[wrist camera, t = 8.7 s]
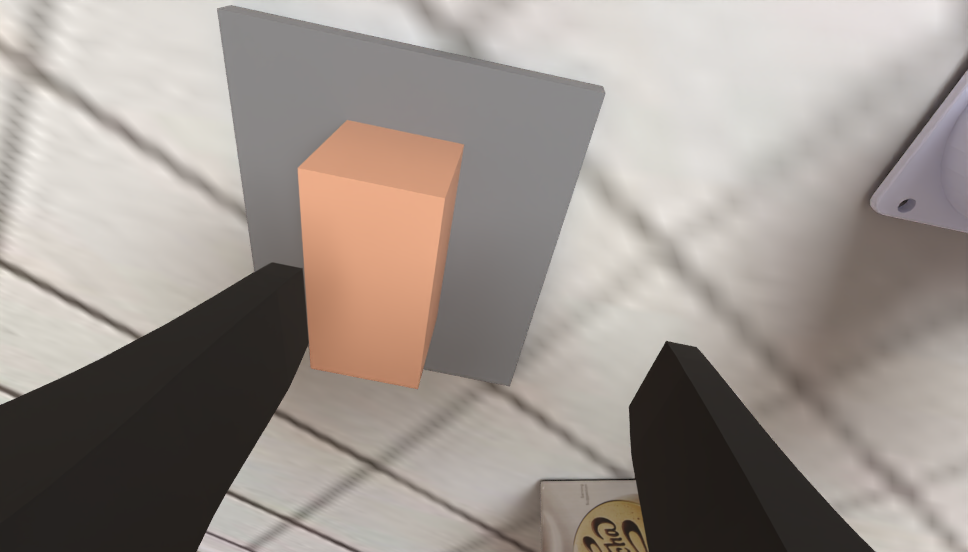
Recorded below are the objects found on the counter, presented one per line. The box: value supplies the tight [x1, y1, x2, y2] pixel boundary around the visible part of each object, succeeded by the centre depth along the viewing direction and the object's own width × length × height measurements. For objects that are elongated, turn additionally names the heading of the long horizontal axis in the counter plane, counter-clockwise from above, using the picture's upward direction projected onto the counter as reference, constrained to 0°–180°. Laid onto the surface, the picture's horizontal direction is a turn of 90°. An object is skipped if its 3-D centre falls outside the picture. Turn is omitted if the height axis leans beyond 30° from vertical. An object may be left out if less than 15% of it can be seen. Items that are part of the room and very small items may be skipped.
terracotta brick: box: [298, 120, 464, 389], centre depth 17 cm, size 8×4×4 cm, turn 170°
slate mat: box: [217, 5, 605, 386], centre depth 19 cm, size 12×14×1 cm
